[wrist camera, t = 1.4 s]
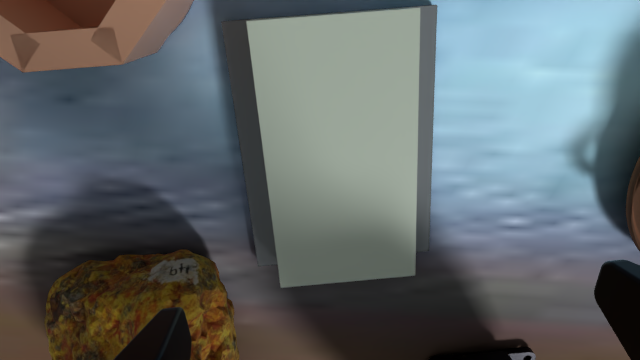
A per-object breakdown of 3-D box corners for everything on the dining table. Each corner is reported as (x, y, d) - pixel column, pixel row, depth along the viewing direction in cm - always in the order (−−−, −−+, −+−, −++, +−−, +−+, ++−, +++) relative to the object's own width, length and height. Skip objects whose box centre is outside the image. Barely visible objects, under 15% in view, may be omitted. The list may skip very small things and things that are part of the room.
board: (405, 253, 22) (415, 275, 20) (281, 264, 22) (280, 287, 20) (407, 7, 18) (420, 7, 16) (251, 19, 18) (246, 21, 16)
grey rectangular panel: (425, 245, 23) (429, 251, 22) (259, 259, 23) (258, 266, 22) (432, 4, 18) (437, 5, 18) (223, 21, 18) (221, 21, 18)
